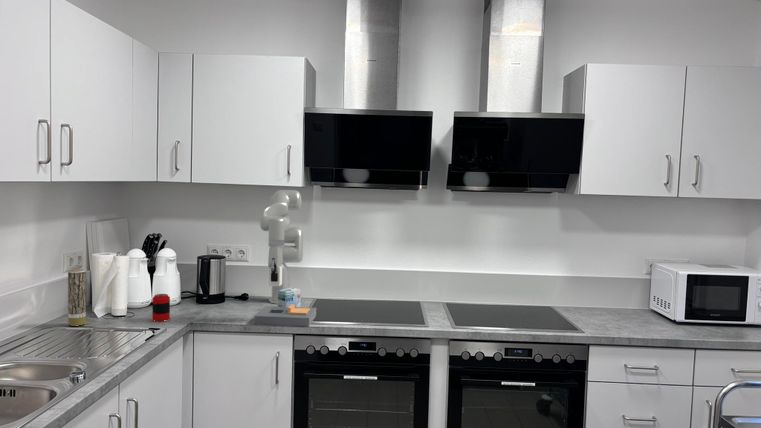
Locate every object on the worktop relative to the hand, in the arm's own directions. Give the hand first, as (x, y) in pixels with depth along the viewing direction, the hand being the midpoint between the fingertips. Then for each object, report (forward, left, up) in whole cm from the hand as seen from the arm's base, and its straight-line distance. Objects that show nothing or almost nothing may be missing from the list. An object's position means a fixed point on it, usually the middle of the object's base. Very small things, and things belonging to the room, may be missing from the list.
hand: (275, 280), depth 251 cm
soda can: (+9, -52, -20) cm, 57 cm away
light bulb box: (-20, +2, -20) cm, 28 cm away
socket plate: (0, +6, -19) cm, 20 cm away
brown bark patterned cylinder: (+23, -84, -20) cm, 90 cm away
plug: (0, 0, -3) cm, 3 cm away
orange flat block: (0, +12, -15) cm, 19 cm away
